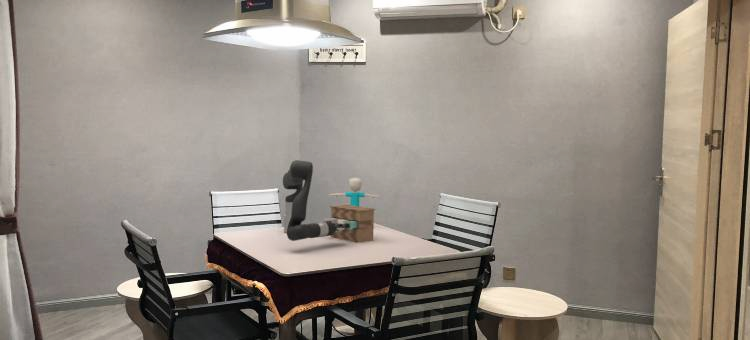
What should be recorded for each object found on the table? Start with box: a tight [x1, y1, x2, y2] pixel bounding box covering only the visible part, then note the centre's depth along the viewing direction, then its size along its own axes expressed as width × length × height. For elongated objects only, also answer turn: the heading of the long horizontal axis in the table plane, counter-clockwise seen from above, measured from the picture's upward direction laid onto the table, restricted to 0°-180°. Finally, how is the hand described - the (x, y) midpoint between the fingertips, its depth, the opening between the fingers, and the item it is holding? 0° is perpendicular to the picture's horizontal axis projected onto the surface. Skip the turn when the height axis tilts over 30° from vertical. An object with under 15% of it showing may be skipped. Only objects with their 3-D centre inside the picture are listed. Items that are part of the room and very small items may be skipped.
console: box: [329, 204, 376, 244], centre depth 351 cm, size 23×11×17 cm, turn 46°
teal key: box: [346, 221, 358, 230], centre depth 343 cm, size 4×9×4 cm, turn 136°
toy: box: [328, 177, 382, 207], centre depth 385 cm, size 30×9×30 cm, turn 84°
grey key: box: [323, 217, 339, 223], centre depth 351 cm, size 4×9×4 cm, turn 136°
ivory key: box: [338, 219, 348, 224], centre depth 348 cm, size 4×9×4 cm, turn 136°
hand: (348, 225), depth 339 cm, fingers closed
